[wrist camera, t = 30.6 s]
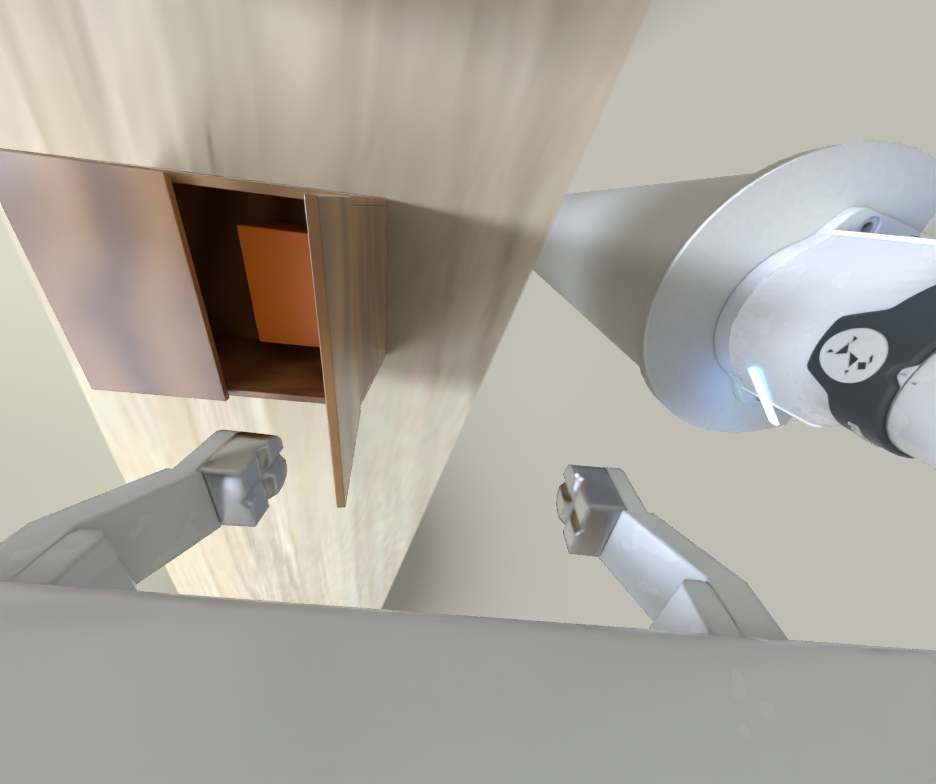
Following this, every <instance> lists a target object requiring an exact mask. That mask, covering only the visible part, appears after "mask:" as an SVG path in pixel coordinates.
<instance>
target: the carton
mask: <svg viewBox="0 0 936 784" xmlns="http://www.w3.org/2000/svg"><path fill="white" fill-rule="evenodd" d="M304 194H326V195H346V196H350V200H351V221H352V242H353V263H354V284H355V305H356V326H357V347H358V368H359V389H360V406H361V404H362V402H363V400H364V398H365V396H366V394H367V392H368V390H369V388H370V386H371V384H372V382H373V380H374V378H375V376H376V374H377V372H378V370H379V368H380V366H381V364H382V362H383V360H384V358H385V356H386V354H387V323H386V198H381V197H373V196H366V195H358V194H350V193H343V192H335V191H328V190H320V189H313V188H305V187H298V186H290V185H283V184H275V183H268V182H260V181H253V180H245V179H238V178H230V177H223V176H215V175H208V174H200V173H193V172H185V171H178V170H170V169H163V168H155V167H147V166H139V165H131V164H123V163H115V162H107V161H99V160H91V159H83V158H75V157H67V156H59V155H51V154H43V153H35V152H27V151H19V150H11V149H3V148H0V203H1V205H2V207H3V209H4V211H5V213H6V215H7V217H8V219H9V221H10V223H11V225H12V227H13V229H14V231H15V233H16V235H17V238H18V240H19V242H20V244H21V246H22V248H23V250H24V252H25V254H26V256H27V258H28V260H29V262H30V264H31V266H32V268H33V270H34V272H35V274H36V276H37V278H38V280H39V282H40V284H41V286H42V288H43V290H44V292H45V294H46V296H47V298H48V300H49V302H50V304H51V307H52V309H53V311H54V313H55V315H56V317H57V319H58V321H59V323H60V325H61V327H62V329H63V331H64V333H65V335H66V337H67V339H68V341H69V343H70V345H71V347H72V349H73V351H74V353H75V355H76V357H77V359H78V361H79V363H80V365H81V367H82V369H83V371H84V374H85V376H86V378H87V380H88V382H89V384H90V386H91V388H92V389H97V390H108V391H119V392H131V393H142V394H154V395H165V396H176V397H188V398H199V399H210V400H222V401H226V400H228V399H229V395H234V396H245V397H256V398H267V399H278V400H290V401H301V402H312V403H323V404H326V400H325V391H324V381H323V372H322V362H321V353H320V347H312V346H302V345H292V344H282V343H272V342H262V341H260V340H259V335H258V330H257V325H256V320H255V315H254V310H253V305H252V300H251V295H250V290H249V285H248V280H247V275H246V270H245V265H244V260H243V255H242V249H241V244H240V239H239V234H238V229H237V225H238V224H249V223H261V222H273V221H276V222H284V223H292V224H300V225H307V221H306V212H305V202H304Z"/></svg>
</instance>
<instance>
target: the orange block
mask: <svg viewBox="0 0 936 784" xmlns="http://www.w3.org/2000/svg"><path fill="white" fill-rule="evenodd" d="M237 229H238V234H239V239H240V244H241V249H242V255H243V260H244V265H245V270H246V275H247V280H248V285H249V290H250V295H251V300H252V305H253V310H254V315H255V320H256V325H257V330H258V335H259V340H260V341H262V342H272V343H282V344H292V345H302V346H312V347H320V343H319V334H318V325H317V315H316V306H315V296H314V287H313V278H312V268H311V259H310V249H309V240H308V230H307V225H300V224H292V223H284V222H276V221H273V222H261V223H249V224H238V225H237Z"/></svg>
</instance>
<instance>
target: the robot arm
mask: <svg viewBox="0 0 936 784" xmlns="http://www.w3.org/2000/svg"><path fill="white" fill-rule="evenodd" d="M862 227H863V228H862ZM714 349H715V354H716V357H717V360H718V362H719V364H720V366H721V367H722V368H723V370H724V371H725V372H726V373H727V374H728V375H729V376H730V378H731V380H732V386H733V393H734V396H735V398H736V399H737V400H739V401H741V402H743V403H745V404H758V403H762V404H763V407H764V409H765V411H766V414H767V416H768V419H769V421H770V422H771V423H773V424H774V425H776V426H777V425H779V422H778V420H777V417H776V415H775V412H774V410H773V407H772V405H773V406H775V407H777V408H778V409H780V410H782V411H784V412H786V413H788V414H789V415H791V416H793V417H795V418H797V419H799V420H801V421H802V422H804V423H806V424H808V425H810V426H813V427H817V428H820V427H822V426H826V427H833V426H834V427H835V426H841V425H842V426H844V427H846V428H847V429H849V430H851V431H853V432H854V433H855V434H856V435H857V436H859V437H861V438H862V439H864V440H865V441H867V442H869V443H871V444H873V445H875V446H878V447H881V448H884V449H885V450H887V451H889V452H891V453H894V454H896V455H898V456H903V457H906V458H915V459H917V460H919V461H921V462H923V463H924V464H926V465H928V466H930V467H932V468H933V469H935V470H936V238H934V237H932V236H929V235H927V234H925V233H923V232H921V231H919V230H917V229H914V228H912V227H910V226H908V225H906V224H904V223H901V222H899V221H897V220H895V219H893V218H891V217H888V216H886V215H884V214H882V213H880V212H878V211H876V210H873V209H871V208H868V207H860V206H852V207H849V208H847V209H845V210H843V211H842V212H840V213H839V214H838V215H836V216H835V217H834V218H832V219H831V220H830V221H829V222H828V223H826V224H825V225H824V226H823V227H822V228H820V229H819V230H818V231H817V232H816V233H814V234H812V235H811V236H809V237H807V238H805V239H803V240H801V241H799V242H796V243H794V244H792V245H790V246H788V247H786V248H784V249H782V250H780V251H778V252H777V253H775V254H774V255H772V256H770V257H769V258H768V259H766V260H765V261H763V262H762V263H761V264H760V265H758V266H757V267H756V268H755V269H754V270H753V271H751V272H750V273H749V274H748V275H747V276H746V277H745V278H744V280H743V281H742V282H741V283H740V284H739V285H738V286H737V288H736V289H735V290H734V292H733V293H732V294H731V296H730V297H729V299H728V301H727V302H726V304H725V306H724V308H723V310H722V312H721V314H720V317H719V319H718V322H717V325H716V330H715V335H714ZM282 449H283V445H282V441H281V438H280V437H278V436H274V435H266V434H258V433H249V432H238V431H230V430H219V431H216V432H215V433H214V434H213V435H211V436H210V437H209V438H208V439H207V440H206V441H204V442H203V443H202V444H201V445H200V446H199V447H198V448H196V449H195V450H194V451H193V452H192V453H191V454H189V455H188V456H187V457H186V458H185V459H184V460H183V461H181V462H180V463H179V464H178V465H177V466H176V467H174V468H173V469H167V468H166V469H164V470H161V471H159V472H156V473H154V474H151V475H148V476H146V477H143V478H141V479H138V480H136V481H133V482H131V483H128V484H126V485H123V486H121V487H118V488H116V489H113V490H111V491H108V492H105V493H103V494H101V495H98V496H95V497H93V498H90V499H88V500H85V501H83V502H80V503H78V504H75V505H73V506H70V507H68V508H65V509H62V510H60V511H57V512H55V513H52V514H50V515H48V516H45V517H42V518H40V519H37V520H35V521H32V522H30V523H28V524H27V525H25V526H24V527H22V528H21V529H20V530H18V531H17V532H15V533H14V534H12V535H11V536H10V537H8V538H7V539H6V540H4V541H3V542H1V543H0V784H936V651H933V650H920V649H906V648H893V647H880V646H866V645H851V644H839V643H838V644H837V643H825V642H812V641H798V640H788V638H787V637H786V636H785V634H784V633H783V631H782V630H781V629H780V627H779V626H778V625H777V623H776V622H775V621H774V619H773V618H772V617H771V615H770V614H769V612H768V611H767V610H766V608H765V607H764V605H763V604H762V603H761V601H760V600H759V599H758V597H757V596H756V595H755V593H754V592H753V590H752V589H751V588H750V587H749V585H748V584H747V583H746V582H745V581H744V580H742V579H741V578H740V577H738V576H737V575H736V574H734V573H733V572H732V571H730V570H729V569H728V568H726V567H725V566H724V565H722V564H721V563H720V562H718V561H717V560H716V559H714V558H713V557H712V556H710V555H709V554H707V553H706V552H705V551H704V550H702V549H701V548H699V547H698V546H697V545H695V544H694V543H693V542H691V541H690V540H689V539H687V538H686V537H685V536H683V535H682V534H681V533H679V532H678V531H677V530H675V529H674V528H673V527H671V526H670V525H669V524H667V523H666V522H665V521H663V520H662V519H661V518H659V517H658V516H657V515H655V514H654V513H648V512H647V510H646V508H645V507H644V505H643V504H642V502H641V500H640V498H639V496H638V495H637V493H636V491H635V490H634V488H633V486H632V484H631V483H630V481H629V479H628V478H627V476H626V474H625V472H624V471H623V470H621V469H620V468H608V467H607V468H606V467H602V468H601V467H591V466H580V465H568V466H567V467H566V469H565V472H564V474H563V475H564V478H565V481H566V482H565V483H563V484H562V485H560V486H559V489H558V493H557V502H556V506H557V512H558V516H559V519H560V520H561V521H562V522H563V523H564V524H565V528H564V530H563V534H564V538H565V542H566V545H567V549H568V552H569V553H570V554H578V555H587V556H596V557H600V558H599V559H600V560H601V561H602V562H603V563H604V565H605V566H606V567H607V568H608V569H609V570H610V572H611V573H612V574H613V575H614V576H615V577H616V579H617V580H618V581H619V582H620V583H621V584H622V586H623V587H624V588H625V589H626V590H627V592H628V593H629V594H630V595H631V596H632V597H633V598H634V600H635V601H636V602H637V603H638V604H639V606H640V607H641V608H642V609H643V610H644V611H645V613H646V614H647V615H648V616H649V617H650V618H651V620H652V621H653V623H652V625H651V626H650V628H649V629H638V628H625V627H612V626H598V625H585V624H571V623H557V622H545V621H529V620H518V619H503V618H490V617H477V616H462V615H449V614H436V613H423V612H409V611H396V610H383V609H369V608H356V607H343V606H330V605H316V604H303V603H290V602H276V601H263V600H250V599H236V598H223V597H210V596H196V595H183V594H168V593H156V592H143V591H140V590H139V588H138V587H137V585H136V584H138V583H139V582H140V581H142V580H143V579H145V578H146V577H148V576H149V575H151V574H152V573H153V572H155V571H157V570H158V569H160V568H161V567H162V566H164V565H165V564H167V563H168V562H170V561H171V560H173V559H174V558H176V557H177V556H179V555H180V554H182V553H183V552H184V551H186V550H187V549H189V548H190V547H192V546H193V545H195V544H196V543H198V542H199V541H201V540H202V539H204V538H205V537H206V536H208V535H209V534H211V533H212V532H214V531H215V530H217V529H218V528H220V527H221V525H233V526H250V527H255V526H256V525H257V523H258V522H259V520H260V519H261V518H262V516H263V515H264V513H265V512H266V510H267V509H268V507H269V504H268V499H269V498H271V497H273V496H275V495H276V494H278V493H279V491H280V489H281V488H282V486H283V484H284V481H285V478H286V475H287V465H286V460H285V459H284V458H283V457H282V456H281V455H280V454H279V453H280V451H281V450H282Z"/></svg>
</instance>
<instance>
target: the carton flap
mask: <svg viewBox="0 0 936 784" xmlns="http://www.w3.org/2000/svg"><path fill="white" fill-rule="evenodd" d="M304 202H305V212H306V221H307V230H308V240H309V249H310V259H311V268H312V278H313V287H314V296H315V306H316V315H317V325H318V334H319V343H320V353H321V362H322V372H323V381H324V391H325V400H326V409H327V419H328V428H329V438H330V447H331V456H332V466H333V475H334V485H335V494H336V504H337V508H340V507H345V506H346V501H347V495H348V488H349V482H350V476H351V469H352V463H353V457H354V450H355V444H356V437H357V431H358V425H359V418H360V412H361V410H360V389H359V368H358V347H357V326H356V305H355V284H354V263H353V242H352V221H351V200H350V196H346V195H326V194H304Z"/></svg>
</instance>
